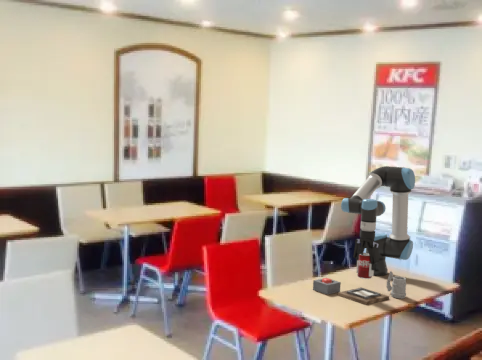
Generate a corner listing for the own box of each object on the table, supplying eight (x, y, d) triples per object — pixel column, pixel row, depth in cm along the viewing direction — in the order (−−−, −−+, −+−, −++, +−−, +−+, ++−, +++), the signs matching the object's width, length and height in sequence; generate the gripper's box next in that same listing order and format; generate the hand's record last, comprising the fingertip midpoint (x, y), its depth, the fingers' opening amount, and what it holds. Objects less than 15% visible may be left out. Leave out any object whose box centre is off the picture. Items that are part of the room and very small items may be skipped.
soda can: (372, 279, 294) (373, 256, 293) (357, 278, 295) (358, 255, 294) (371, 276, 301) (373, 253, 300) (357, 274, 302) (358, 252, 301)
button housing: (325, 286, 315) (326, 277, 315) (340, 291, 307) (340, 282, 307) (312, 289, 309) (313, 280, 308) (327, 294, 301) (327, 285, 301)
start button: (326, 286, 311) (326, 277, 311) (333, 289, 308) (333, 279, 307) (319, 288, 308) (320, 279, 308) (326, 290, 304) (327, 281, 304)
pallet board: (360, 290, 312) (361, 285, 312) (388, 298, 298) (389, 294, 298) (338, 295, 300) (338, 290, 300) (366, 304, 287) (366, 299, 286)
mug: (399, 299, 298) (400, 276, 296) (381, 293, 307) (382, 271, 306) (409, 297, 302) (410, 274, 301) (391, 291, 312) (392, 269, 310)
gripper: (347, 227, 301) (344, 270, 303) (379, 234, 286) (376, 280, 288) (357, 225, 306) (354, 269, 308) (388, 232, 290) (385, 278, 293)
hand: (364, 274), depth 298 cm, fingers closed on soda can, 7 cm apart
